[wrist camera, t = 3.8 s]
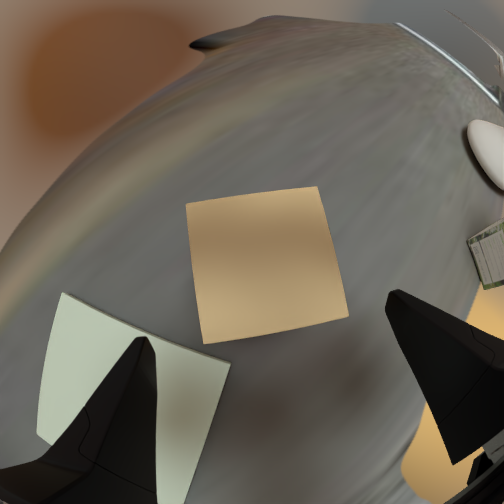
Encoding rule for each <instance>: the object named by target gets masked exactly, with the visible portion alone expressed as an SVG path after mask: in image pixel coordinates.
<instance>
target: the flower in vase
mask: <svg viewBox="0 0 504 504" xmlns="http://www.w3.org/2000/svg"><path fill="white" fill-rule="evenodd" d="M467 135H468V140H469V143H470V146H471V148H472V150H473V153H474V154H475V156H476V158H477V160H478V162H479V163H480V165H481V167H482V168H483V169H484V171H485V172H486V174H487V175H488V176H489V177H490V179H491V180H492V181H493V182H494V183H495V184H496V185H497V186H498V187H499V188H500V189H502V190H504V128H503V127H501V126H498V125H495V124H493V123H490V122H487V121H483V120H474V121H471V122H469V124H468V129H467Z"/></svg>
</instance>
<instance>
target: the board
mask: <svg viewBox="0 0 504 504" xmlns="http://www.w3.org/2000/svg"><path fill="white" fill-rule="evenodd" d="M140 336H146V337H148V339H149V341H150V343H151V345H152V347H153V349H154V351H155V354H156V372H157V392H158V396H157V421H156V482H157V502H158V503H159V504H184V501H185V498H186V495H187V492H188V490H189V487H190V484H191V481H192V478H193V475H194V472H195V469H196V467H197V464H198V461H199V458H200V455H201V452H202V449H203V446H204V443H205V440H206V437H207V434H208V431H209V428H210V425H211V422H212V419H213V416H214V413H215V410H216V407H217V404H218V401H219V398H220V395H221V392H222V389H223V386H224V383H225V380H226V377H227V374H228V371H229V368H230V365H231V362H228V361H225V360H222V359H219V358H216V357H213V356H210V355H207V354H204V353H201V352H198V351H195V350H193V349H190V348H187V347H184V346H182V345H179V344H176V343H174V342H171V341H169V340H166V339H164V338H161V337H159V336H156V335H154V334H151V333H149V332H146V331H144V330H142V329H139V328H137V327H135V326H133V325H130V324H128V323H126V322H124V321H122V320H119V319H117V318H115V317H113V316H111V315H109V314H107V313H105V312H103V311H101V310H99V309H97V308H95V307H93V306H91V305H89V304H87V303H85V302H83V301H81V300H79V299H77V298H75V297H73V296H72V295H70V294H67V293H63V292H62V294H61V298H60V301H59V304H58V308H57V311H56V315H55V319H54V323H53V326H52V330H51V335H50V339H49V343H48V348H47V353H46V358H45V363H44V369H43V375H42V382H41V389H40V397H39V407H38V419H37V435H39V436H40V437H41V438H43V439H44V440H45V441H46V442H48V443H49V444H50V445H53V444H54V443H55V441H56V440H57V439H58V438H59V437H60V436H61V435H62V433H63V432H64V431H65V430H66V429H67V427H68V426H69V425H70V424H71V423H72V421H73V420H74V419H75V417H76V416H77V415H78V413H79V412H80V410H81V409H82V408H83V406H85V404H86V402H87V401H88V399H89V398H90V397H91V395H92V394H93V393H94V391H95V390H96V389H97V387H98V386H99V384H100V383H101V382H102V380H103V379H104V378H105V376H106V375H107V374H108V372H109V371H110V370H111V368H112V367H113V366H114V364H115V363H116V362H117V361H118V359H119V358H120V357H121V355H122V354H123V353H124V351H125V350H126V349H127V347H128V346H129V345H130V344H131V342H132V341H133V340H134V339H135V338H136V337H140Z"/></svg>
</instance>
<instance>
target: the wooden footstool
mask: <svg viewBox="0 0 504 504" xmlns="http://www.w3.org/2000/svg"><path fill="white" fill-rule="evenodd" d="M186 211H187V222H188V232H189V242H190V251H191V260H192V268H193V276H194V284H195V291H196V299H197V306H198V312H199V319H200V325H201V332H202V338H203V344H209V343H216V342H223V341H230V340H236V339H243V338H249V337H255V336H260V335H266V334H271V333H277V332H282V331H287V330H292V329H297V328H301V327H306V326H311V325H315V324H319V323H324V322H328V321H332V320H336V319H340V318H344V317H348V316H349V314H348V309H347V304H346V299H345V294H344V289H343V285H342V280H341V276H340V271H339V267H338V263H337V259H336V254H335V250H334V246H333V242H332V239H331V235H330V231H329V227H328V223H327V220H326V216H325V213H324V209H323V206H322V202H321V199H320V195H319V192H318V189H317V187H306V188H297V189H288V190H279V191H270V192H262V193H255V194H247V195H240V196H233V197H226V198H219V199H213V200H206V201H200V202H194V203H188V204H186Z"/></svg>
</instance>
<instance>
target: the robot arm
mask: <svg viewBox="0 0 504 504" xmlns="http://www.w3.org/2000/svg"><path fill="white" fill-rule="evenodd" d="M385 312H386V315H387V317H388V320H389V322H390V324H391V327H392V329H393V332H394V334H395V337H396V339H397V341H398V344H399V346H400V348H401V350H402V352H403V354H404V356H405V357H406V359H407V361H408V363H409V365H410V367H411V369H412V371H413V373H414V375H415V377H416V380H417V382H418V384H419V386H420V388H421V390H422V392H423V394H424V397H425V399H426V401H427V403H428V405H429V408H430V410H431V412H432V414H433V417H434V419H435V421H436V424H437V425H438V429H439V431H440V434H441V436H442V439H443V441H444V444H445V447H446V449H447V452H448V455H449V457H450V460H451V463H452V465H455V464H456V463H458V462H459V461H461V460H463V459H464V458H466V457H467V456H468V455H470V454H472V453H473V452H475V451H476V450H477V449H479V448H480V447H483V449H484V451H483V452H482V453H481V454H480V455H479V456H477V457H476V458H475V459H474V461H473V464H472V468H471V472H470V475H469V478H468V481H467V485H468V486H467V487H466V488H465V489H463V490H462V491H461V492H459V493H458V494H457V495H455V496H454V497H453V498H451V499H450V500H449V501H447V502H445V503H444V504H504V340H501V339H499V338H497V337H495V336H493V335H490V334H488V333H486V332H484V331H482V330H479V329H478V328H476V327H474V326H472V325H469V324H468V323H466V322H464V321H462V320H460V319H458V318H456V317H454V316H452V315H450V314H448V313H446V312H444V311H443V310H441V309H439V308H437V307H435V306H432V305H430V304H428V303H426V302H424V301H422V300H420V299H418V298H416V297H414V296H412V295H410V294H408V293H406V292H404V291H402V290H400V289H397V290H393V291H390V292H389V294H388V298H387V302H386V306H385ZM157 396H158V392H157V372H156V354H155V351H154V349H153V347H152V345H151V343H150V341H149V339H148V337H146V336H140V337H136V338H135V339H134V340H133V341H132V342H131V344H130V345H129V346H128V347H127V349H126V350H125V351H124V353H123V354H122V355H121V357H120V358H119V359H118V361H117V362H116V363H115V364H114V366H113V367H112V368H111V370H110V371H109V372H108V374H107V375H106V376H105V378H104V379H103V380H102V382H101V383H100V384H99V386H98V387H97V389H96V390H95V391H94V393H93V394H92V395H91V397H90V398H89V399H88V401H87V402H86V404H85V406H83V408H82V409H81V410H80V412H79V413H78V415H77V416H76V417H75V419H74V420H73V421H72V423H71V424H70V425H69V426H68V427H67V429H66V430H65V431H64V432H63V433H62V435H61V436H60V437H59V438H58V439H57V440H56V441H55V443H54V444H53V445H52V446H51V447H50V448H49V450H48V451H47V452H46V453H45V454H44V455H43V456H41V457H40V458H38V459H37V460H34V461H31V462H28V463H24V464H20V465H16V466H12V467H8V468H4V469H0V499H1V500H2V501H4V503H3V502H0V504H158V502H157V482H156V421H157Z"/></svg>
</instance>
